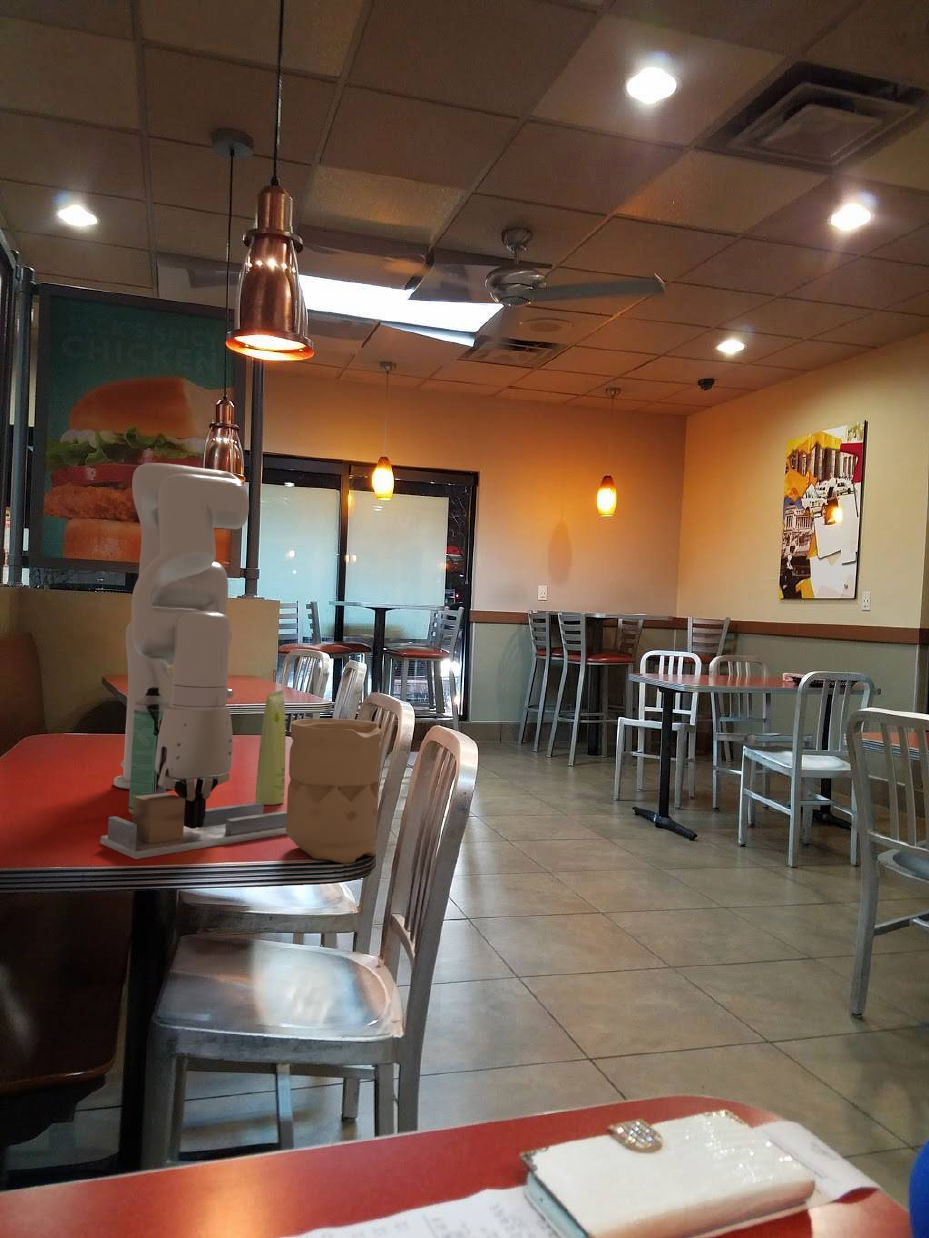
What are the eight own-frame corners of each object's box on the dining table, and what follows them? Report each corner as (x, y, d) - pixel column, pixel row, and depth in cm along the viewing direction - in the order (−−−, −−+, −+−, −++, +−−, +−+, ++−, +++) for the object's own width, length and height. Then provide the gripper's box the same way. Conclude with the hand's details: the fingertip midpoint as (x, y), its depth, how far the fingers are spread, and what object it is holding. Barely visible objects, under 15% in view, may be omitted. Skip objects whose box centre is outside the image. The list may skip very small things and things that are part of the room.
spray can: (170, 812, 142) (177, 688, 142) (138, 816, 138) (145, 689, 138) (154, 806, 145) (160, 685, 146) (122, 810, 141) (129, 686, 142)
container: (387, 846, 127) (393, 722, 127) (357, 869, 115) (364, 731, 115) (306, 837, 130) (312, 716, 130) (268, 858, 118) (275, 724, 118)
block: (131, 836, 121) (133, 796, 121) (164, 831, 125) (167, 792, 125) (149, 843, 118) (151, 802, 118) (183, 838, 122) (185, 798, 122)
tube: (289, 805, 152) (295, 692, 152) (261, 807, 149) (267, 692, 149) (277, 798, 157) (283, 689, 157) (250, 800, 154) (256, 689, 154)
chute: (100, 843, 121) (102, 814, 121) (255, 820, 139) (256, 795, 139) (135, 859, 114) (137, 828, 114) (293, 832, 132) (294, 806, 132)
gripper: (230, 694, 134) (223, 815, 134) (137, 696, 123) (129, 828, 122) (258, 699, 129) (251, 824, 128) (164, 702, 118) (156, 839, 117)
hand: (192, 826), depth 125 cm, fingers closed
